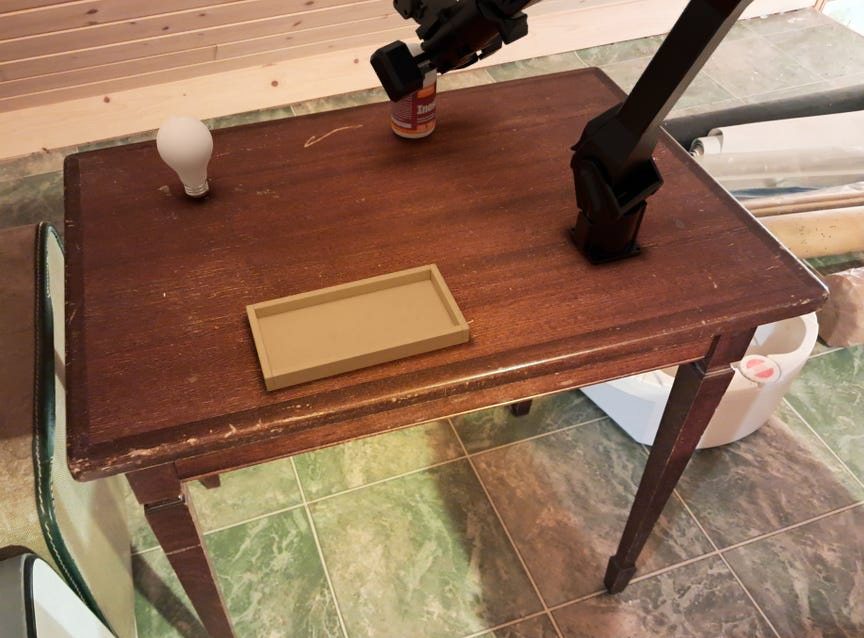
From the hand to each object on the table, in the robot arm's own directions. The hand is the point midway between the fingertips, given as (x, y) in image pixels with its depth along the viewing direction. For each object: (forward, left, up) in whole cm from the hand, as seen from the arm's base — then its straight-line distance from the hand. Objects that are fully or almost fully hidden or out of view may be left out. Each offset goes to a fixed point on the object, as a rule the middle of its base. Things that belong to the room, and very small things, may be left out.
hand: (406, 79), depth 97 cm
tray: (+18, +36, -7) cm, 40 cm away
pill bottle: (-1, +1, -7) cm, 7 cm away
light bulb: (+31, +6, -8) cm, 32 cm away
